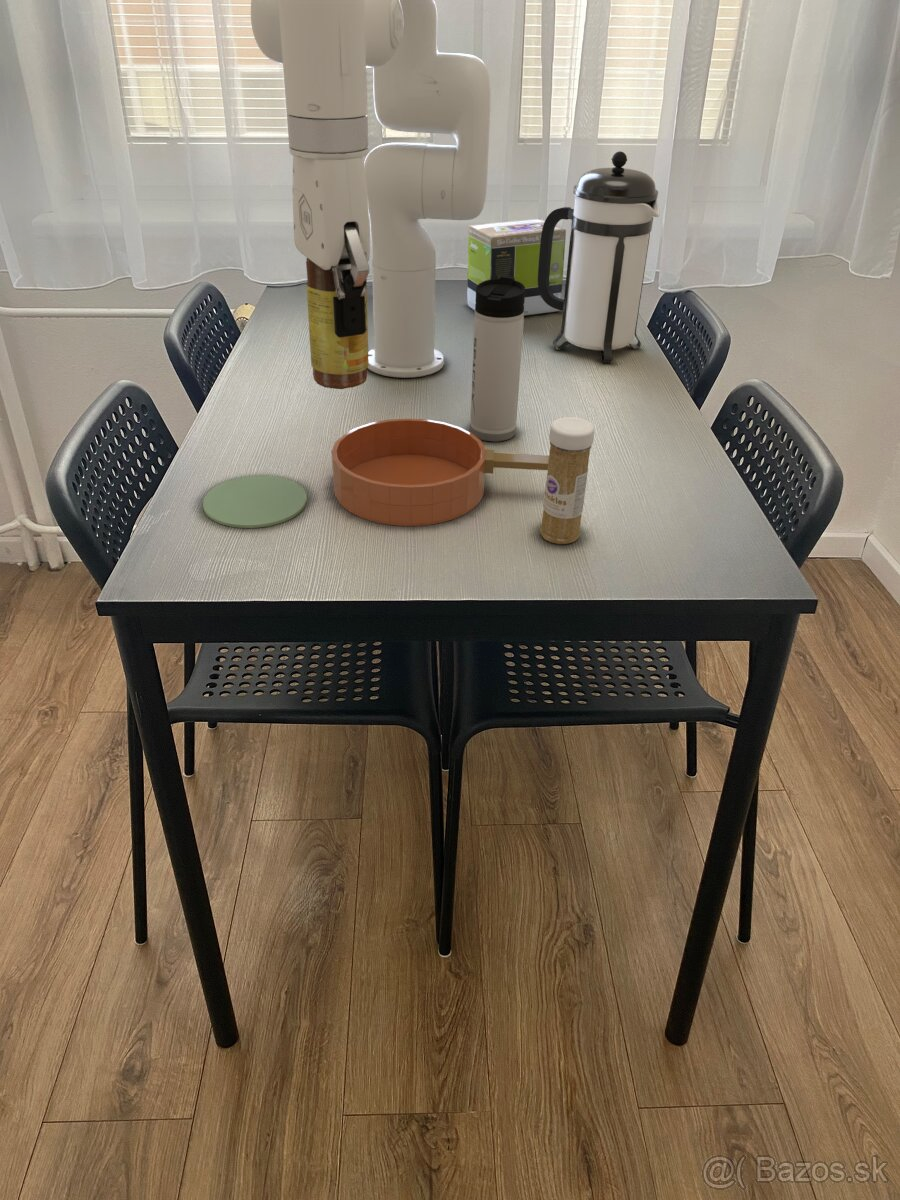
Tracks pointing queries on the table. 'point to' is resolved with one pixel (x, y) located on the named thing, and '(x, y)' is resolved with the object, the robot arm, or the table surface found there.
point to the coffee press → (602, 257)
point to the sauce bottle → (333, 334)
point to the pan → (408, 471)
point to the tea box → (514, 259)
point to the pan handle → (514, 461)
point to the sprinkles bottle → (566, 479)
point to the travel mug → (496, 358)
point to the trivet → (254, 501)
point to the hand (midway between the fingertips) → (338, 322)
